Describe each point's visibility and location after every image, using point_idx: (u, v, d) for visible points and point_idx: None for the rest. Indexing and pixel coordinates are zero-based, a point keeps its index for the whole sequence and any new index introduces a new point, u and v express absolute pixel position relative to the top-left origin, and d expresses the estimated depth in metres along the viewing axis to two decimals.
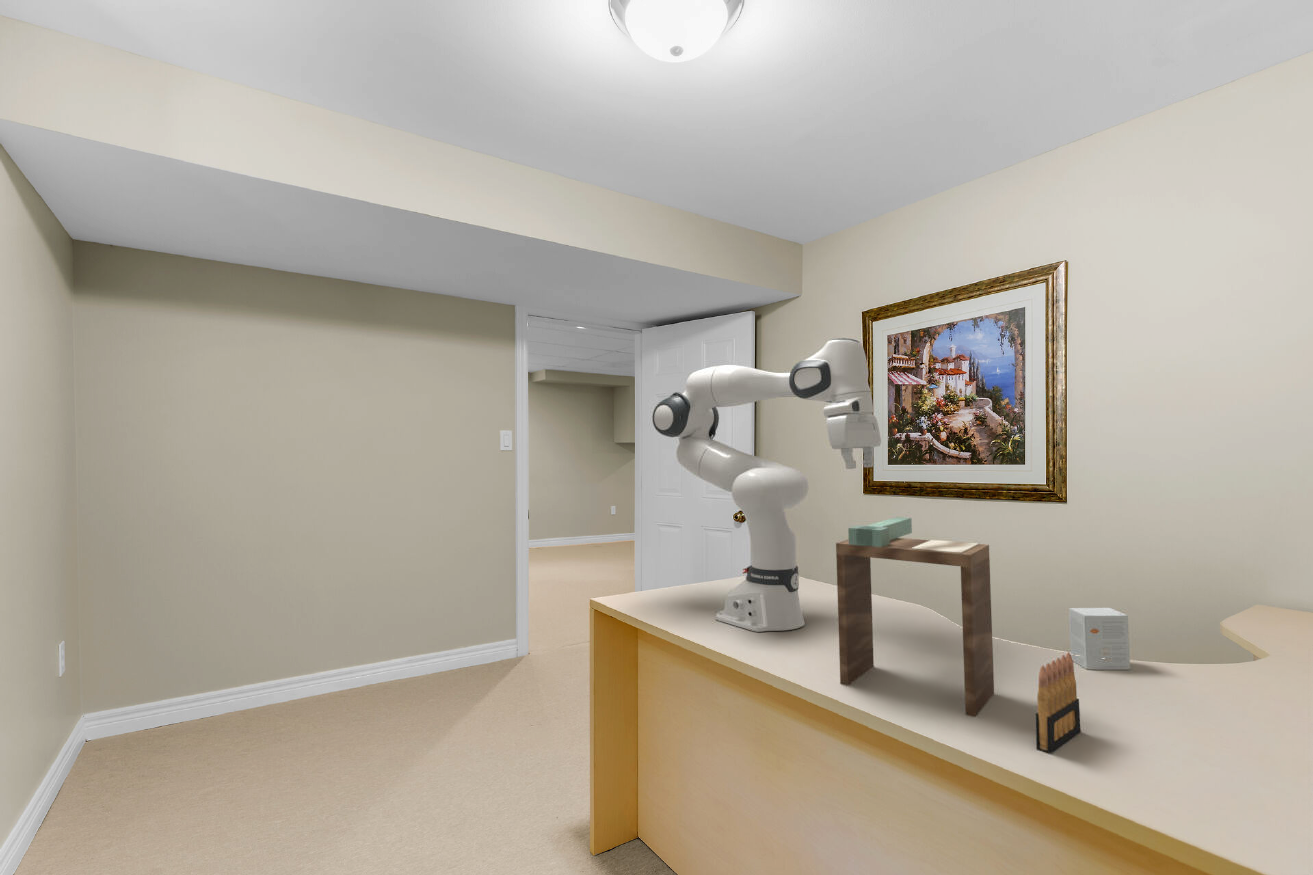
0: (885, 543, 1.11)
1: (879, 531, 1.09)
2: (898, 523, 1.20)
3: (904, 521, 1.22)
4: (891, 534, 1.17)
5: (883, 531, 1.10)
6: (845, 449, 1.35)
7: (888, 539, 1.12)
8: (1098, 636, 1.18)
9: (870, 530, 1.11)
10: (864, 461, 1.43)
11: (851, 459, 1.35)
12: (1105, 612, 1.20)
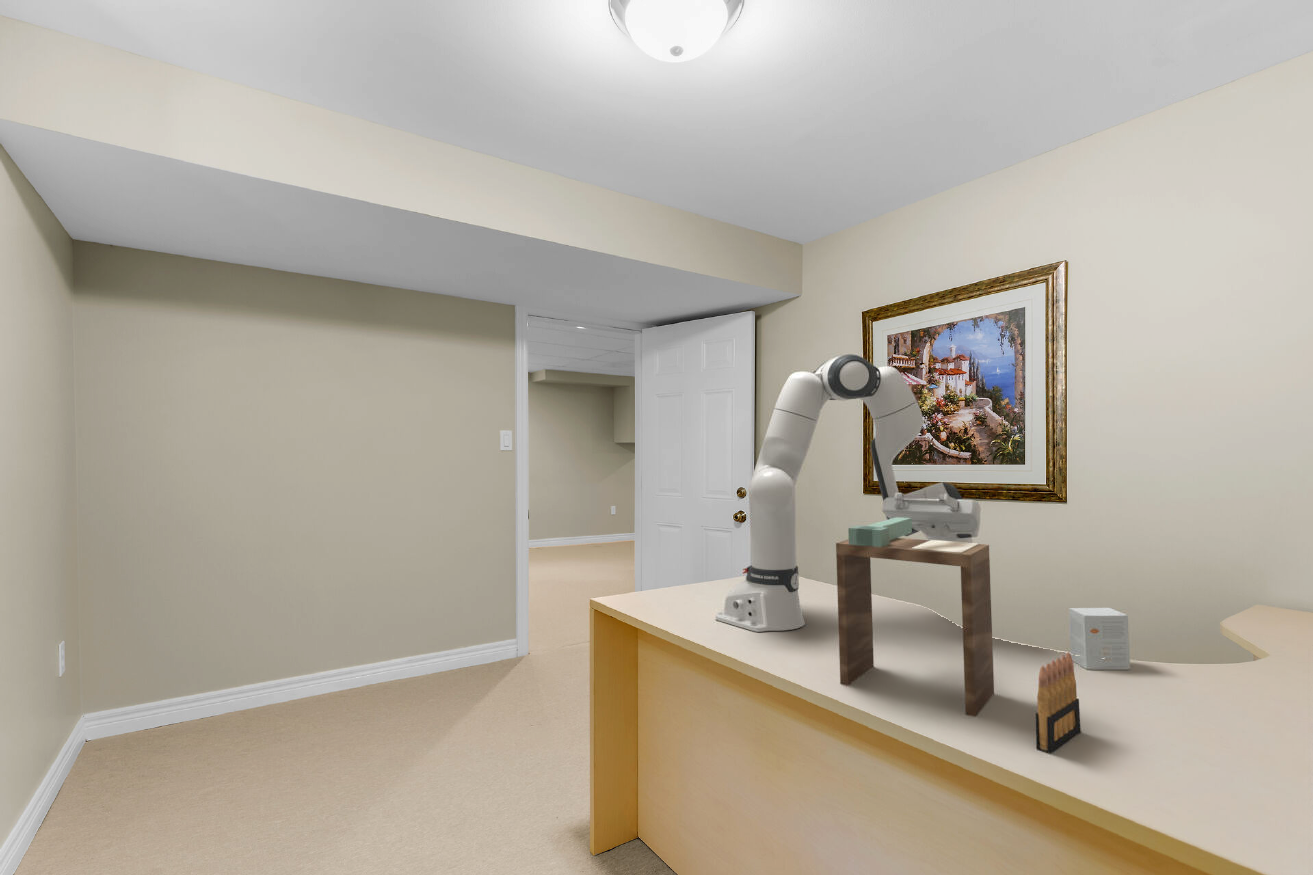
0: (885, 543, 1.11)
1: (879, 531, 1.09)
2: (898, 523, 1.20)
3: (904, 521, 1.22)
4: (891, 534, 1.17)
5: (883, 531, 1.10)
6: (957, 505, 1.32)
7: (888, 539, 1.12)
8: (1098, 636, 1.18)
9: (870, 530, 1.11)
10: (903, 496, 1.38)
11: (949, 504, 1.31)
12: (1105, 612, 1.20)
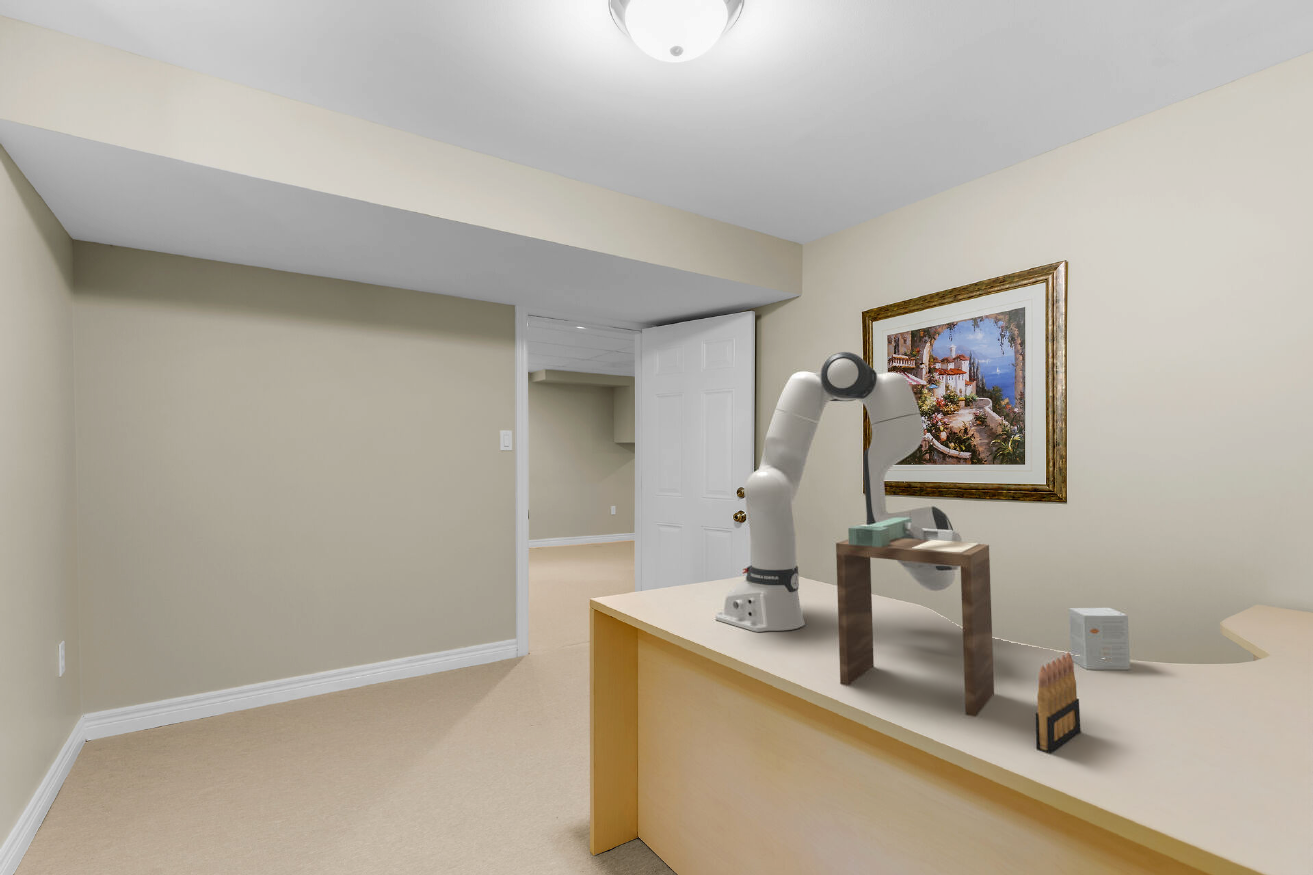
0: (885, 543, 1.11)
1: (879, 531, 1.09)
2: (898, 523, 1.20)
3: (904, 521, 1.22)
4: (891, 534, 1.17)
5: (883, 531, 1.10)
6: (923, 535, 1.23)
7: (888, 539, 1.12)
8: (1098, 636, 1.18)
9: (870, 530, 1.11)
10: None
11: (914, 533, 1.22)
12: (1105, 612, 1.20)
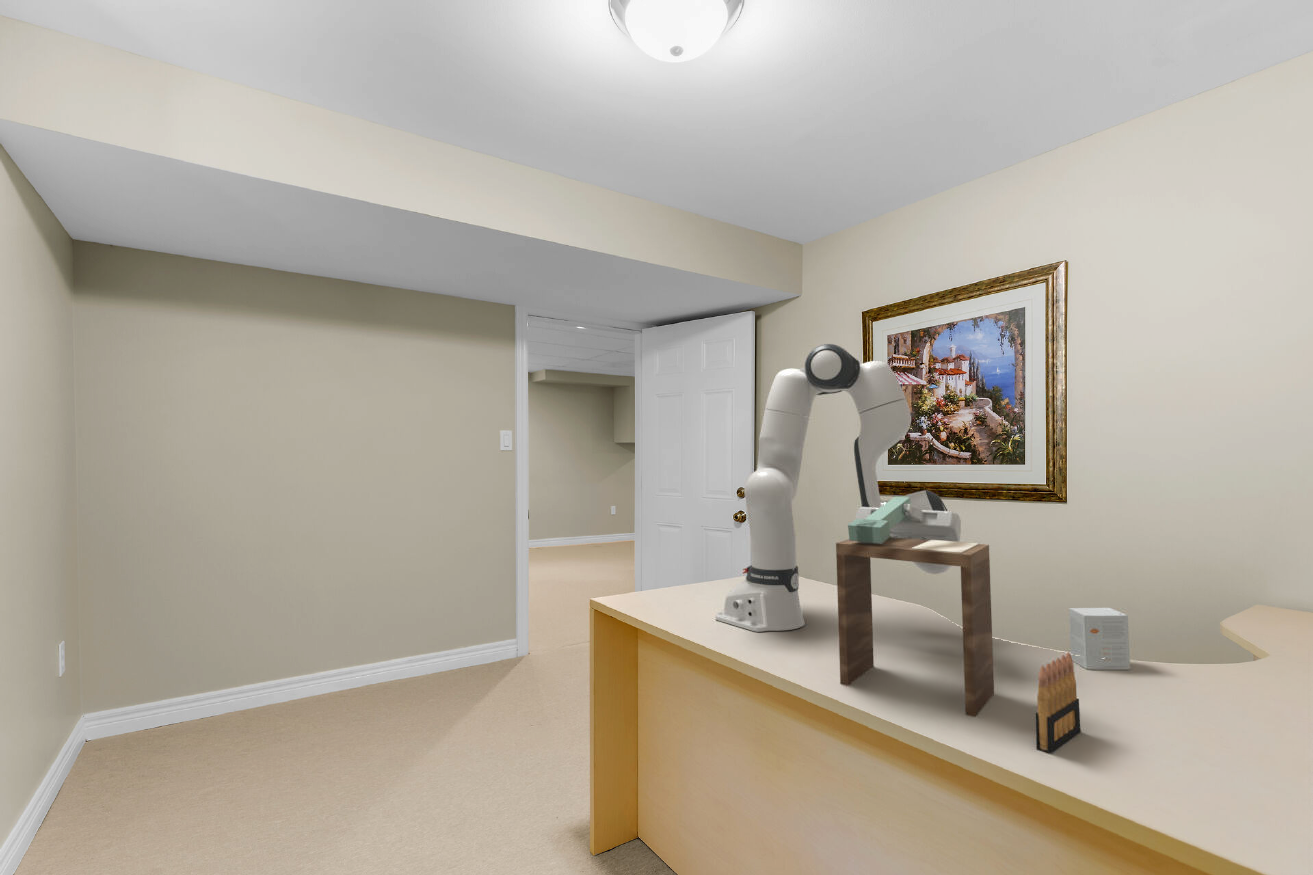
0: (885, 537, 1.11)
1: (879, 528, 1.09)
2: (897, 508, 1.20)
3: (903, 503, 1.22)
4: (891, 522, 1.17)
5: (883, 527, 1.10)
6: (922, 517, 1.23)
7: (888, 532, 1.12)
8: (1098, 636, 1.18)
9: (870, 527, 1.11)
10: None
11: (913, 515, 1.22)
12: (1105, 612, 1.20)
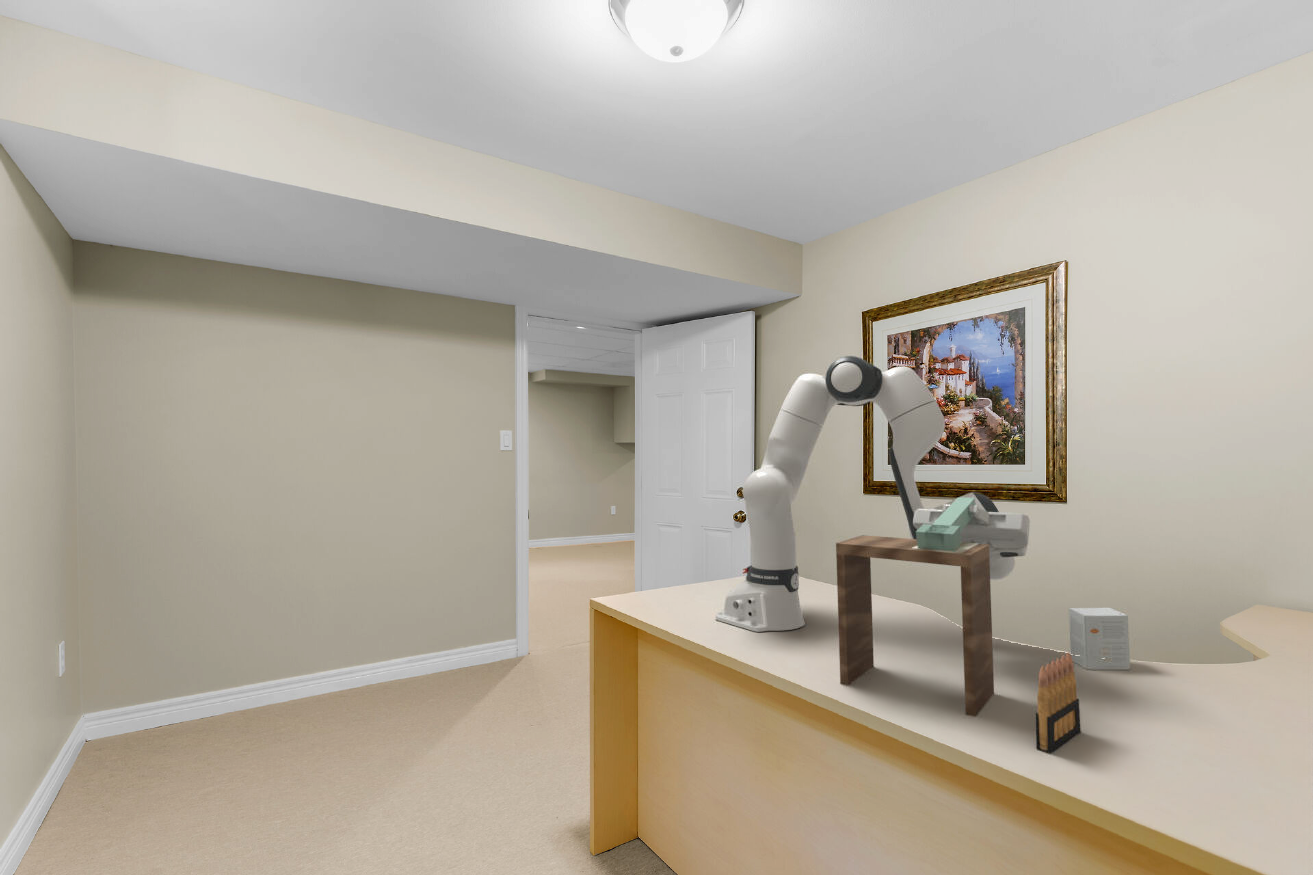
0: (957, 544, 1.03)
1: (951, 535, 1.02)
2: (964, 511, 1.12)
3: None
4: (960, 526, 1.10)
5: (955, 533, 1.03)
6: (988, 519, 1.15)
7: (960, 538, 1.05)
8: (1098, 636, 1.18)
9: (941, 534, 1.03)
10: None
11: (980, 517, 1.14)
12: (1105, 612, 1.20)
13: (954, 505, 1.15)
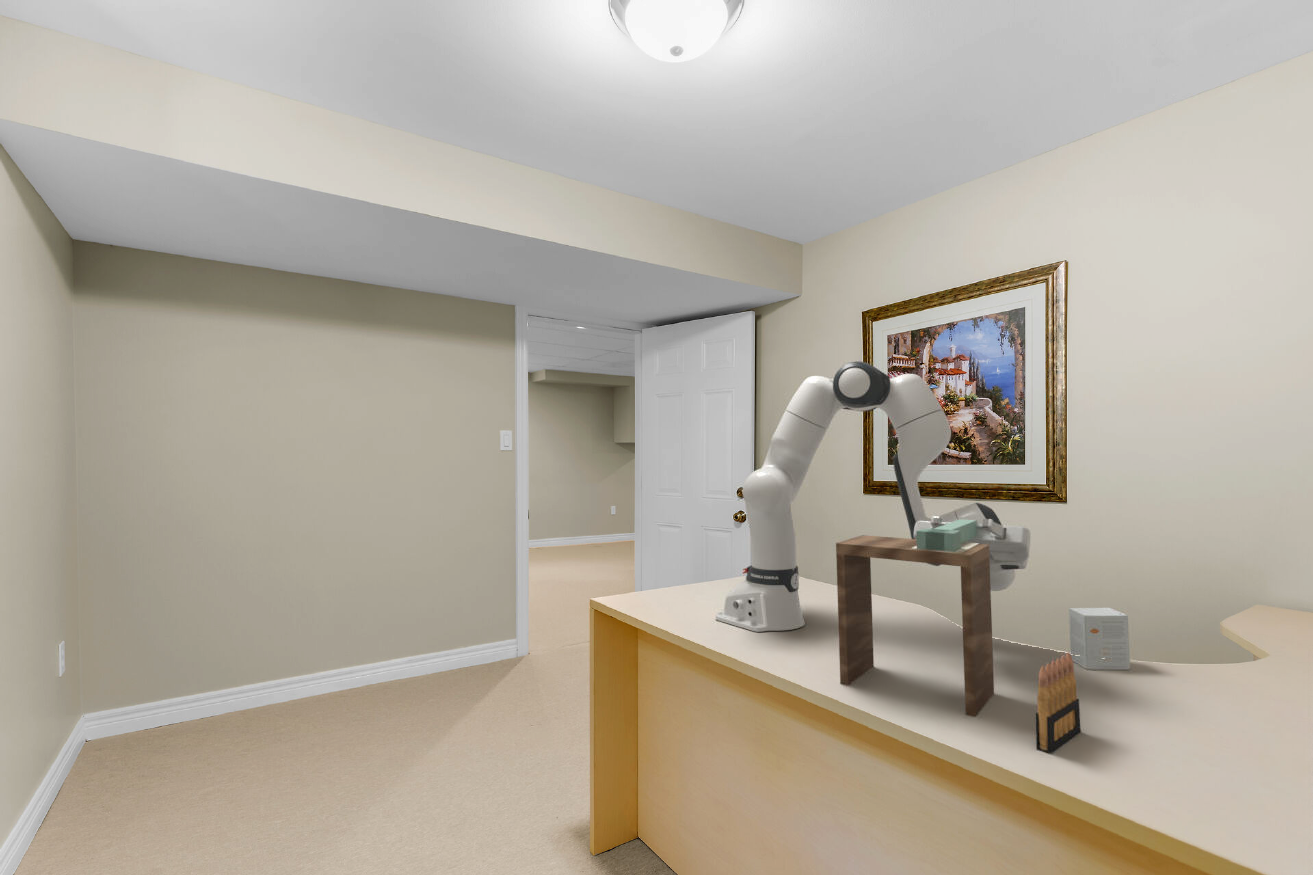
0: (957, 547, 1.03)
1: (952, 534, 1.02)
2: (966, 526, 1.13)
3: (971, 523, 1.15)
4: (960, 538, 1.10)
5: (955, 534, 1.03)
6: (1003, 533, 1.13)
7: (960, 543, 1.04)
8: (1098, 636, 1.18)
9: (941, 533, 1.03)
10: (941, 520, 1.18)
11: (994, 531, 1.12)
12: (1105, 612, 1.20)
13: (956, 522, 1.16)
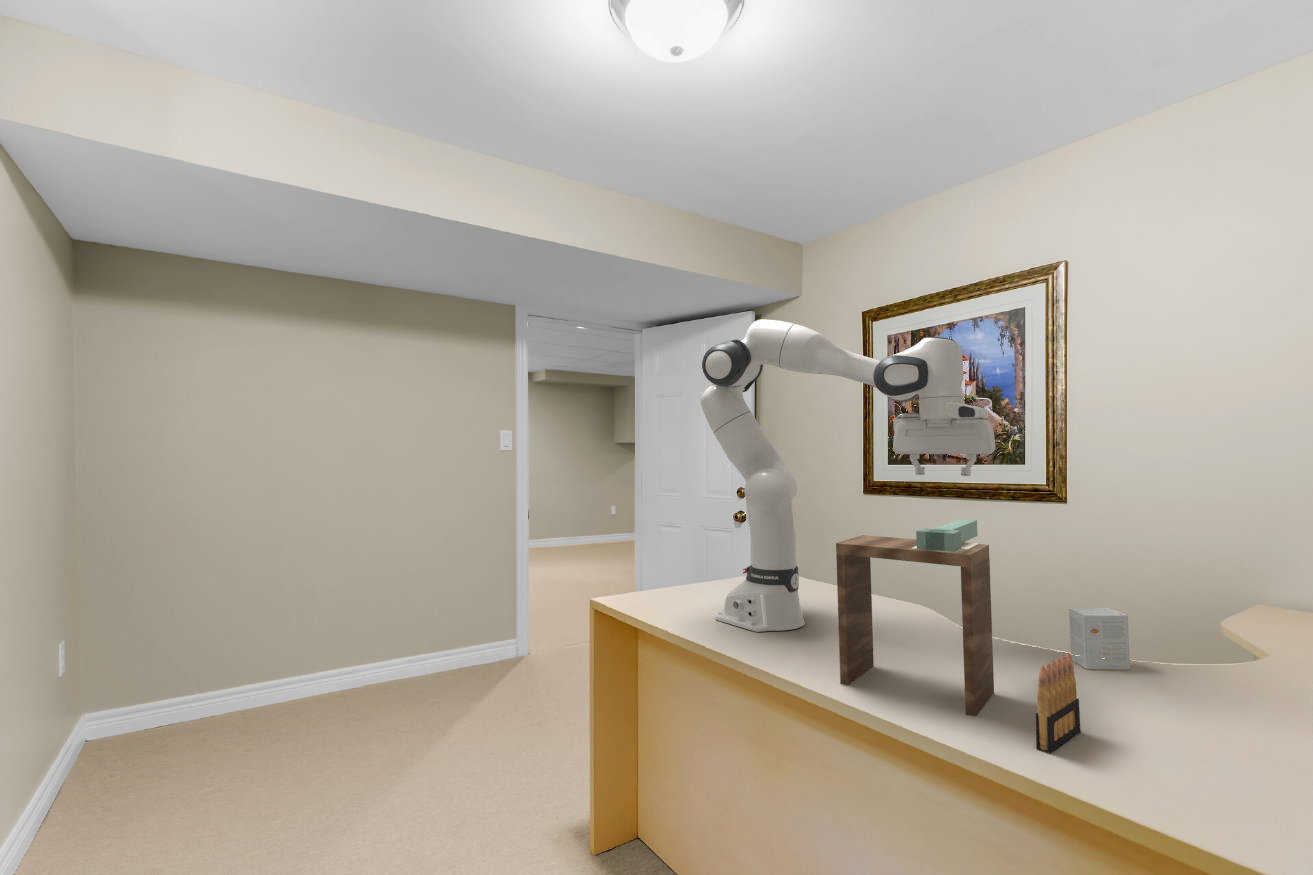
0: (957, 547, 1.03)
1: (952, 534, 1.02)
2: (966, 526, 1.13)
3: (971, 523, 1.15)
4: (960, 538, 1.10)
5: (955, 534, 1.03)
6: (975, 455, 1.30)
7: (960, 543, 1.04)
8: (1098, 636, 1.18)
9: (941, 533, 1.03)
10: (922, 468, 1.36)
11: (971, 466, 1.31)
12: (1105, 612, 1.20)
13: (956, 522, 1.16)
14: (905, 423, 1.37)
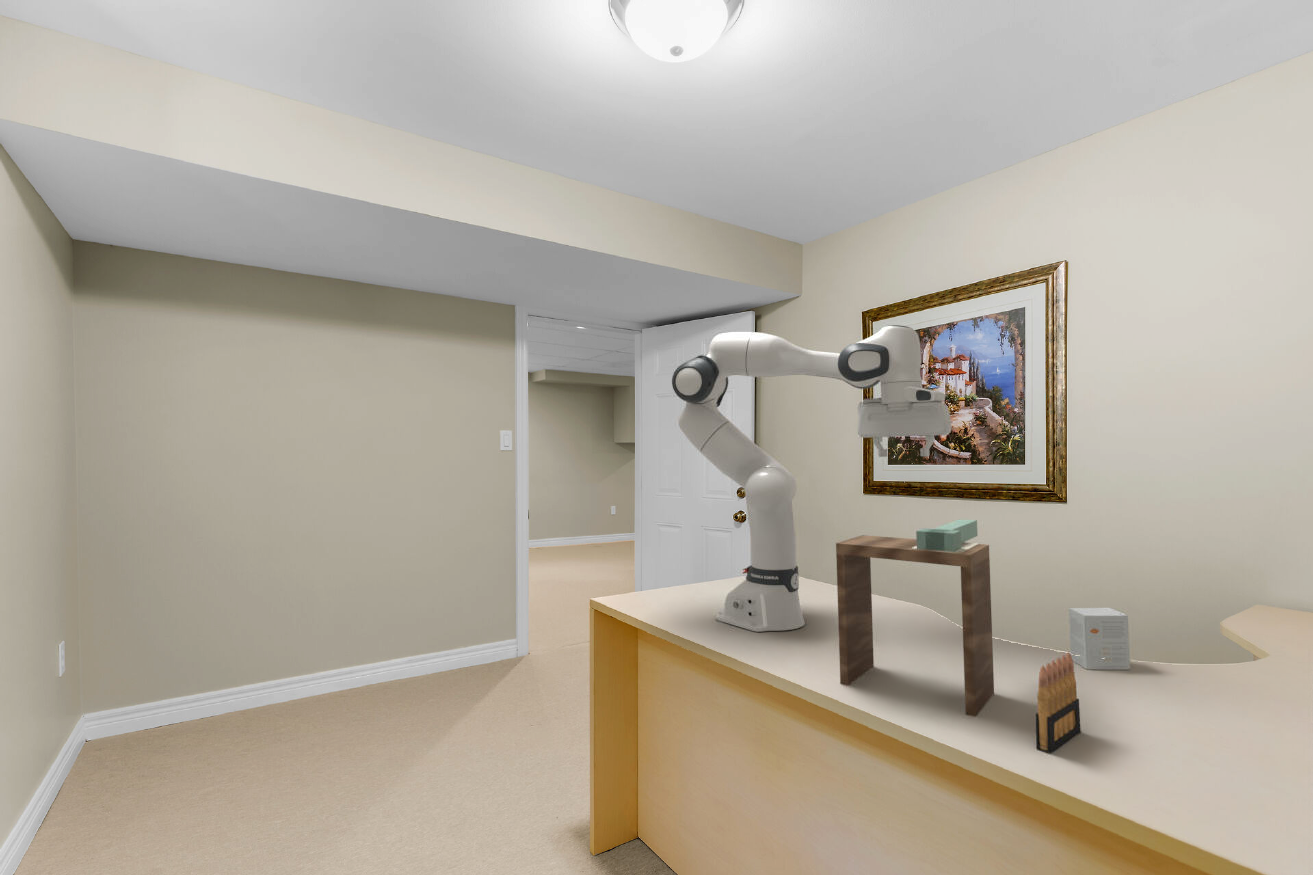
0: (957, 547, 1.03)
1: (952, 534, 1.02)
2: (966, 526, 1.13)
3: (971, 523, 1.15)
4: (960, 538, 1.10)
5: (955, 534, 1.03)
6: (932, 436, 1.37)
7: (960, 543, 1.04)
8: (1098, 636, 1.18)
9: (941, 533, 1.03)
10: (885, 450, 1.43)
11: (930, 446, 1.38)
12: (1105, 612, 1.20)
13: (956, 522, 1.16)
14: (868, 408, 1.45)
